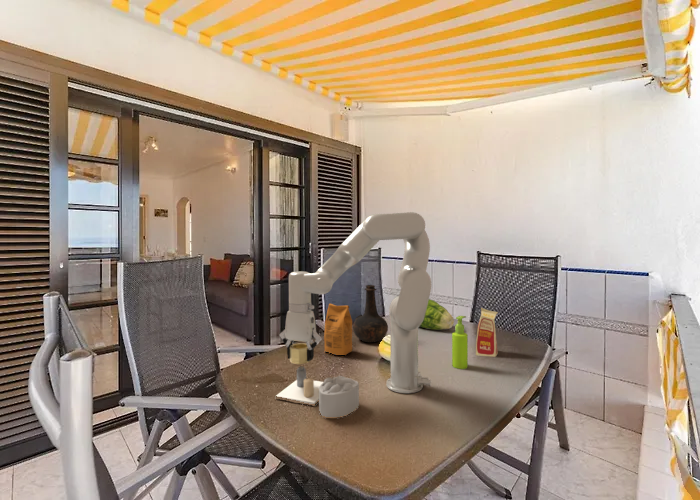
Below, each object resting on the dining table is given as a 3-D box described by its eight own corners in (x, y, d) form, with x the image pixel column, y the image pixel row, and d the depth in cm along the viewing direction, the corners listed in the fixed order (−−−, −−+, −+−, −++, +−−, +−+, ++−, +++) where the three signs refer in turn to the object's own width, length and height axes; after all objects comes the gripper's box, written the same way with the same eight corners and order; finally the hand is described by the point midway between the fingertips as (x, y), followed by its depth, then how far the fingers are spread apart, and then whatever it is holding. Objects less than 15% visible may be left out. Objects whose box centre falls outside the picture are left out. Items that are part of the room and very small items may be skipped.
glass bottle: (365, 333, 190) (364, 281, 189) (394, 338, 179) (394, 284, 178) (345, 341, 175) (345, 285, 174) (376, 347, 165) (375, 288, 164)
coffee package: (334, 347, 166) (333, 301, 165) (355, 351, 159) (354, 303, 158) (320, 353, 158) (319, 304, 157) (342, 358, 151) (341, 307, 150)
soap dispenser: (471, 365, 141) (471, 316, 140) (463, 370, 136) (463, 319, 135) (457, 361, 145) (457, 314, 144) (449, 366, 140) (449, 316, 139)
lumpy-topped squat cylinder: (363, 404, 109) (363, 377, 109) (338, 423, 99) (337, 393, 98) (336, 396, 115) (336, 370, 115) (310, 413, 105) (310, 384, 104)
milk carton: (475, 355, 153) (475, 309, 152) (476, 348, 161) (476, 305, 161) (498, 357, 149) (498, 311, 149) (498, 350, 158) (498, 306, 157)
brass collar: (313, 358, 123) (313, 344, 123) (304, 365, 116) (304, 350, 116) (296, 356, 125) (296, 342, 125) (286, 362, 119) (286, 348, 119)
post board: (333, 386, 122) (333, 365, 122) (314, 406, 108) (313, 382, 108) (298, 381, 127) (298, 361, 127) (275, 399, 113) (275, 376, 113)
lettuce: (448, 343, 189) (441, 326, 179) (412, 328, 205) (404, 311, 195) (462, 320, 196) (456, 302, 187) (426, 307, 212) (419, 290, 203)
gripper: (327, 307, 121) (327, 358, 121) (284, 303, 127) (284, 352, 128) (317, 311, 114) (318, 365, 114) (272, 307, 120) (272, 359, 121)
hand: (300, 358), depth 121 cm, fingers closed on brass collar, 6 cm apart
